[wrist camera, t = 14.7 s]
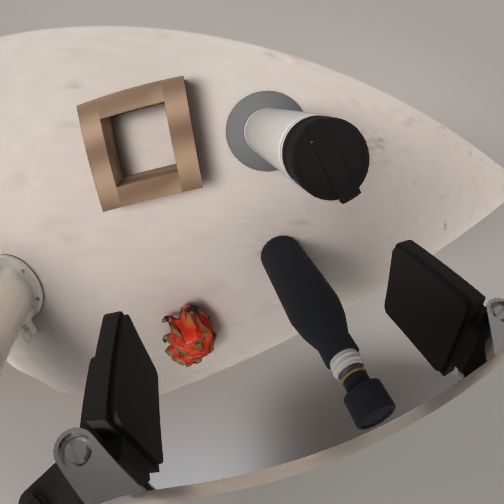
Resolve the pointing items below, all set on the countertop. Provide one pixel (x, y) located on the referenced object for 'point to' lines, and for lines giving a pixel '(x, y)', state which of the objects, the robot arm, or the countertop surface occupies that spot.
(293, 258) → the black water bottle
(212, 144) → the countertop surface
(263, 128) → the travel mug
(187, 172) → the mug holder
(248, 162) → the coaster
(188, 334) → the dragon fruit
